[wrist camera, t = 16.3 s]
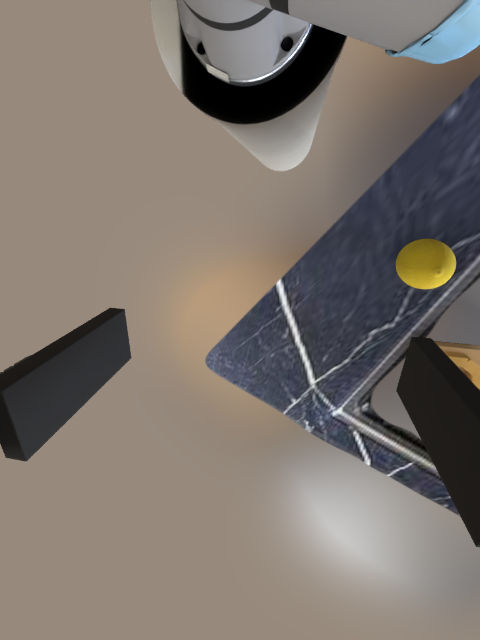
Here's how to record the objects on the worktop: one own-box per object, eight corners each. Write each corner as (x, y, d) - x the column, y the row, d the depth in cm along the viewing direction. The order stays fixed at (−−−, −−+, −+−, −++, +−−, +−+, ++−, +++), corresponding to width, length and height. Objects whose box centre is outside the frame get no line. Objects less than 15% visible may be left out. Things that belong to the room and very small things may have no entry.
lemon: (391, 235, 37) (415, 245, 30) (440, 234, 36) (476, 244, 29) (384, 278, 39) (405, 297, 32) (430, 278, 38) (462, 298, 31)
